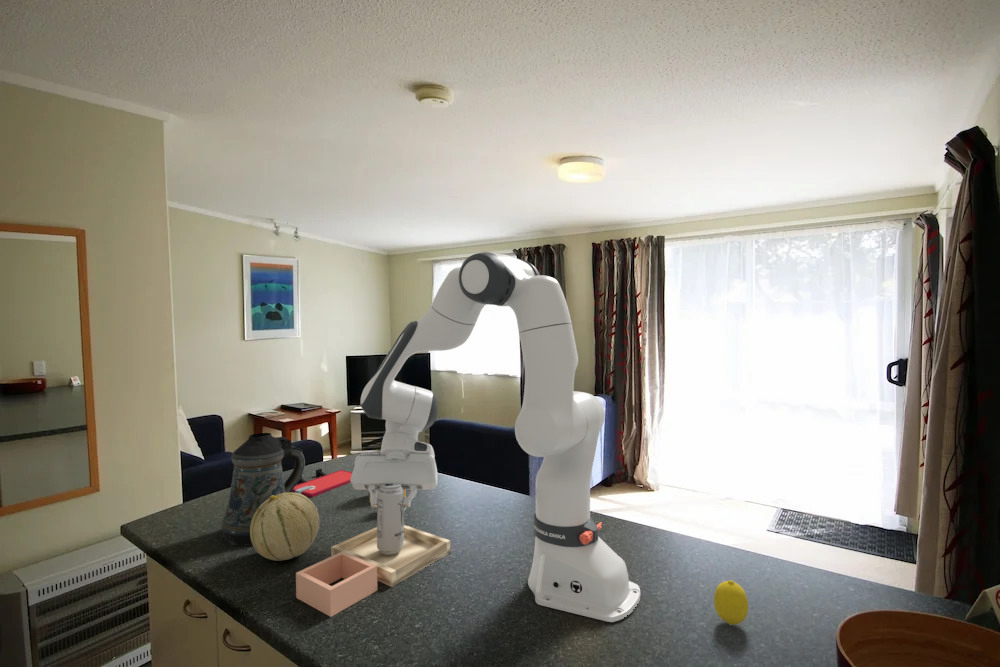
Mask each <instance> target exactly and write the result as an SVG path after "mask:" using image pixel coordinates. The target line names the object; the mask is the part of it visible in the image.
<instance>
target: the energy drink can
mask: <svg viewBox="0 0 1000 667" xmlns="http://www.w3.org/2000/svg"><path fill="white" fill-rule="evenodd" d="M401 485H402V484H401V483H382V484H380V489H379V490H378V493H377V507H376V509H377V510H376V513H377V514H376V527H377V548H378V549H379V551H380V553H382V554H386V555H390V554H396V553H398V552H400V551H401V548H402V547H403V546H404V525H405V510H404V507H403V501H404V500H403V499H404V490H403V488H402V486H401Z"/></svg>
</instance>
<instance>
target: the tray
mask: <svg viewBox="0 0 1000 667" xmlns="http://www.w3.org/2000/svg"><path fill="white" fill-rule="evenodd" d="M342 551H343V552H345V553H348V554H350V555H352V556H355V557H357V558H359V559H362V560H364V561H367V562H369V563H371V564H374V565H376V566H377V582H380V583H382V584H384V585H387V586H389V587H391V588H392V587H395V586H397V585H398V584H400V583H402V582H403V581H405V580H407V579H408V578H410V577H412V576H414V575H415V574H417V573H418V571H419V572H420V571H423V570H424V569H425V567H426V568H427V567H429V566H430V564H431V565H432V564H434V563H435V561H436V562H437V560H438V561H439V560H441V559H443V558H444V557H446V556H448V555H449V553H450V554H451V540H450V539H447V538H445V537H442V536H438V535H436V534H433V533H429V532H427V531H423V530H421V529H418V528H415V527H411V526H408V525H406V524H404V546H403V547H402V548H401V551H400V552H398V553H396V554H390V555H386V554H382V553H380V551H379V549H378V548H377V526H376V527H373V528H371V529H369V530H366V531H364V532H362V533H360V534H358V535H355V536H352V537H351V538H348V539H346V540H344V541H341V542H340V543H337V544H335V545H332V546H331V547H330V554H331V556H334V555H336V554H338V553H340V552H342ZM331 556H330V557H331Z"/></svg>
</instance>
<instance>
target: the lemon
mask: <svg viewBox="0 0 1000 667" xmlns="http://www.w3.org/2000/svg"><path fill="white" fill-rule="evenodd" d="M713 602H714V609H715V612H716V614H717V615H718V617H719V618H720V619H721V620H722V621H724V622H725V623H727V625H729V624H731V625H730V626H733V625H738V624H741V623H742V622H744V620H746V618H747V615H748V613H749V601H748V596H747V593H746V591H745V589H744V588H743V587H742V586H741V585H740V584H738V583H737V582H735V581H733V580H732V579H729V580H725V581H722V582H720V583H719V584H718V585H717V587H716V589H715V591H714V596H713Z"/></svg>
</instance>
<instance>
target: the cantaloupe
mask: <svg viewBox="0 0 1000 667" xmlns="http://www.w3.org/2000/svg"><path fill="white" fill-rule="evenodd" d="M319 528H320V515H319V512H318V509H317V507H316V505H315V504H314V502H313V501H312V500H311V499H310V498H309V497H308V496H304V495H302V494H299V493H293V492H289V493H282V494H278V495H276V496H274V495H272V496H270V498H269V499H268V500H266V501H265V502H264V503H262V504H261V505H260V506H259V507H258V509H257V510H256V512H255V514H254V516H253V518H252V521H251V526H250V538H251V541H252V546H253V548H254V549H255V551H256V552H257V553H258V554H259V556H261V557H263V558H265V559H267V560H271V561H274V562H276V561H277V562H282V561H286V560H291V559H293V558H296V557H298V556H301V555H303V554H304V553H305V552H306V551H307V550H309V548H310V547H311V546H312V545H313V543H314V541H315V539H316V537H317V535H318V532H319Z"/></svg>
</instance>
